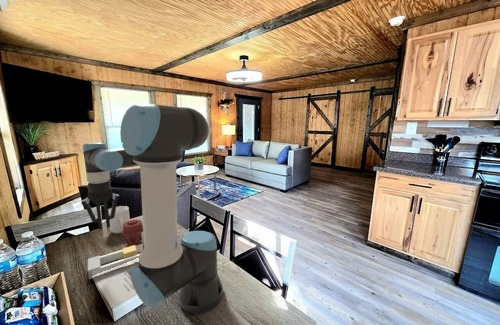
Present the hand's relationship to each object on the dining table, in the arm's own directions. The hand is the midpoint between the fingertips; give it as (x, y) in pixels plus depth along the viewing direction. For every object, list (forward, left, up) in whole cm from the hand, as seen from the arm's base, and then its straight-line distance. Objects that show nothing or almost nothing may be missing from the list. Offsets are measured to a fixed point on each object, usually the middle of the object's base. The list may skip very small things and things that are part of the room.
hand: (105, 235), depth 87 cm
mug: (+33, -7, -15) cm, 36 cm away
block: (0, -8, -14) cm, 16 cm away
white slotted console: (0, -4, -14) cm, 15 cm away
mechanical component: (+13, -12, -15) cm, 23 cm away
